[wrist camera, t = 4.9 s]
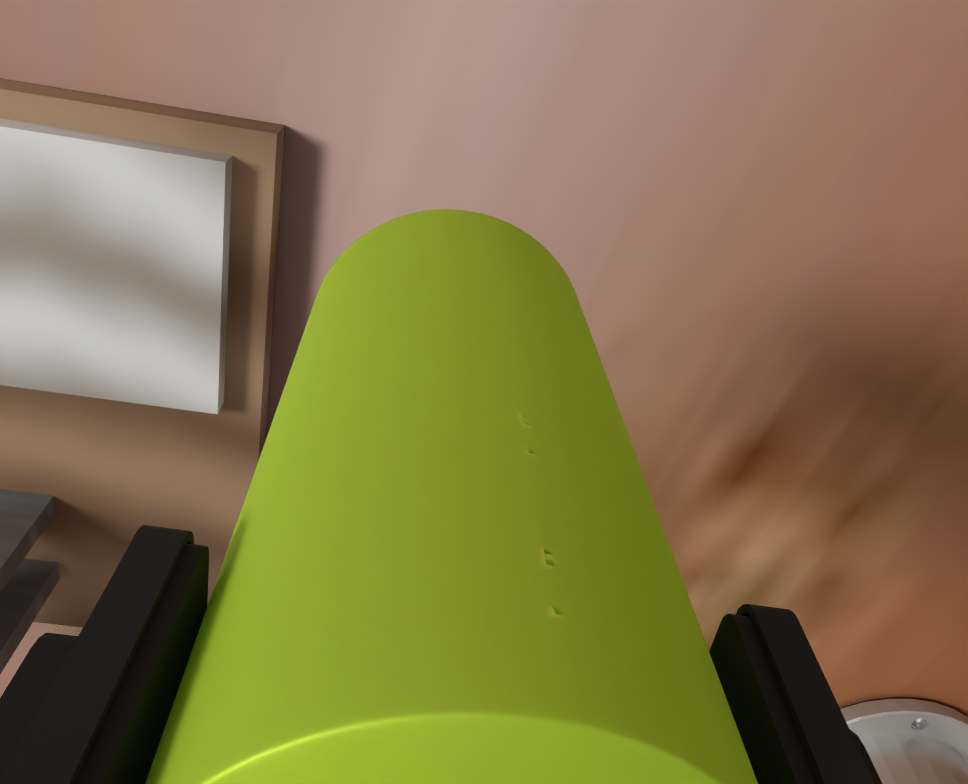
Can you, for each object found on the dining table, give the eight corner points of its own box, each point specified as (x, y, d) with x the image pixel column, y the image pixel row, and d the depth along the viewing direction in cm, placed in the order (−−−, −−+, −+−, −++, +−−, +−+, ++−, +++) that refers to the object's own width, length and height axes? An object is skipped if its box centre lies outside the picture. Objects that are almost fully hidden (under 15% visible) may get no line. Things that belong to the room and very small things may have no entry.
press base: (254, 623, 43) (163, 918, 30) (-1, 594, 42) (-206, 887, 29) (284, 125, 32) (162, 258, 19) (-59, 68, 31) (-428, 170, 18)
